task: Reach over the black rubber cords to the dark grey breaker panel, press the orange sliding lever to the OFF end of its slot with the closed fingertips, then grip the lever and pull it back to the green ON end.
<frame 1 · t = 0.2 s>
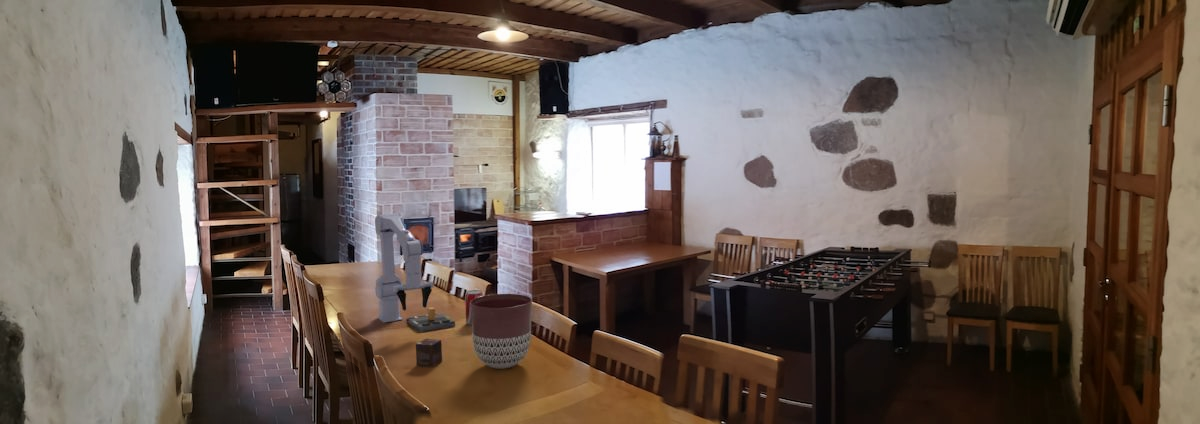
hand: (414, 308, 237), 10 cm above the table, fingers open, 7 cm apart
box: (429, 364, 206), on the table
cords: (423, 319, 259), on the table
planter: (502, 366, 203), on the table
panel: (431, 325, 251), on the table
soda can: (475, 324, 253), on the table
breaker lever: (431, 313, 250), point 5 cm above the table, slide at 5.0 cm
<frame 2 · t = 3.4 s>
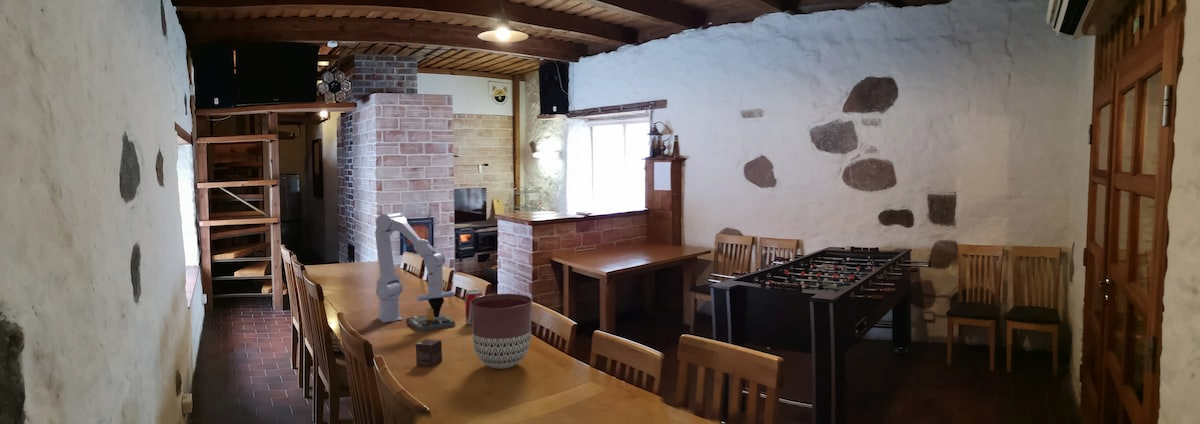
hand: (436, 316, 252), 3 cm above the table, fingers closed
breaker lever: (429, 313, 250), point 5 cm above the table, slide at 4.3 cm, touching gripper
everything else where it was.
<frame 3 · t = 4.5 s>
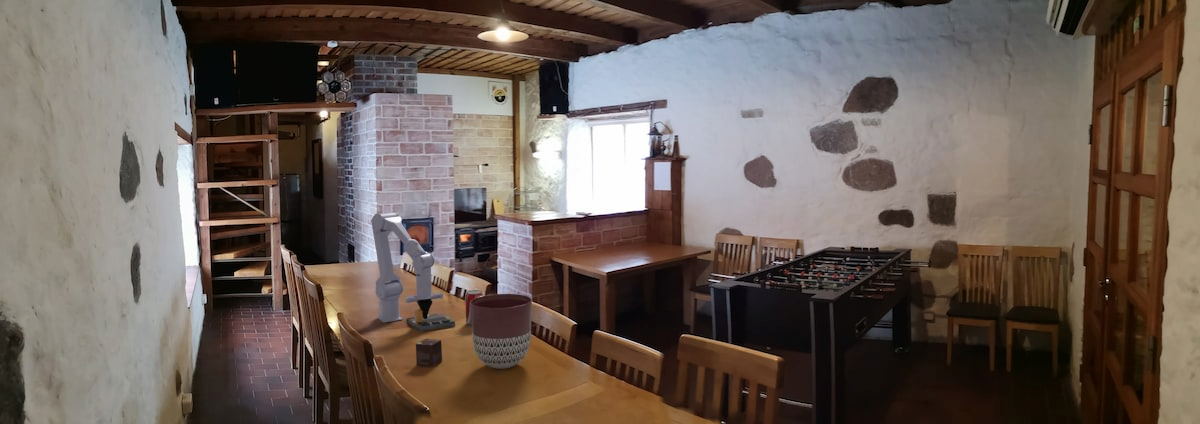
hand: (425, 318, 249), 3 cm above the table, fingers closed
breaker lever: (418, 315, 247), point 5 cm above the table, slide at -0.1 cm, touching gripper
everything else where it was.
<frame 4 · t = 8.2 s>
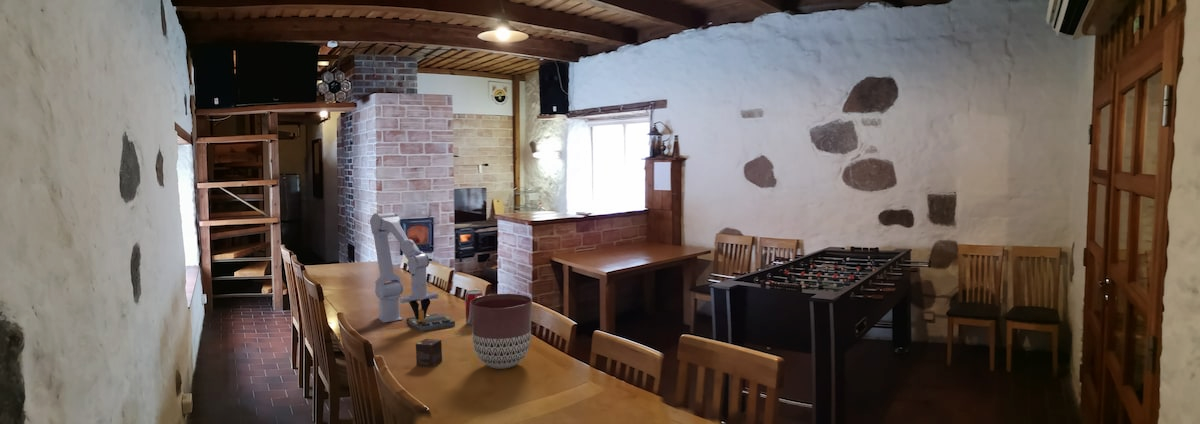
hand: (420, 318, 248), 3 cm above the table, fingers closed on breaker lever, 2 cm apart
breaker lever: (420, 315, 248), point 5 cm above the table, slide at 0.5 cm, touching gripper
everything else where it was.
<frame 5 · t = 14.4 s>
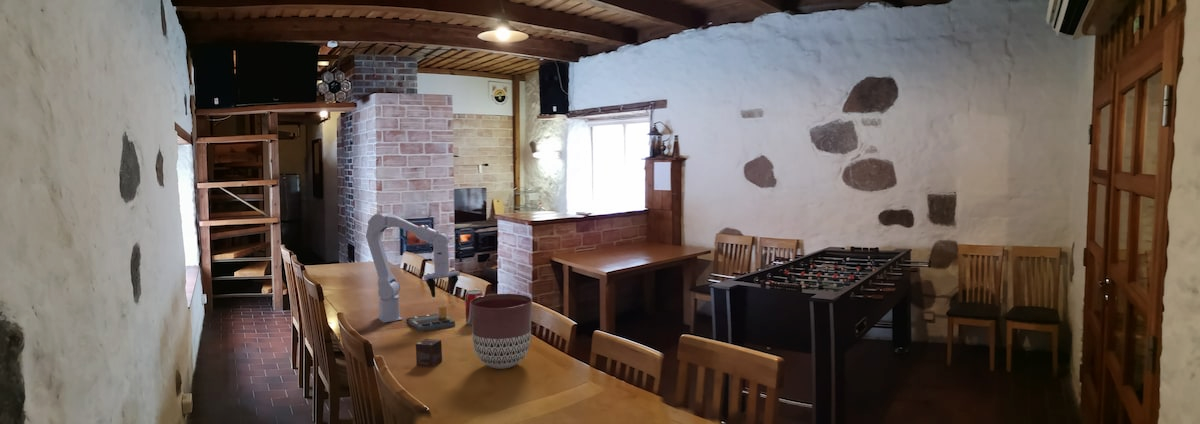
hand: (442, 295, 259), 10 cm above the table, fingers open, 7 cm apart
breaker lever: (442, 312, 253), point 5 cm above the table, slide at 9.6 cm
everything else where it was.
at the end: breaker lever slide at 9.6 cm; the gripper is holding nothing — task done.
